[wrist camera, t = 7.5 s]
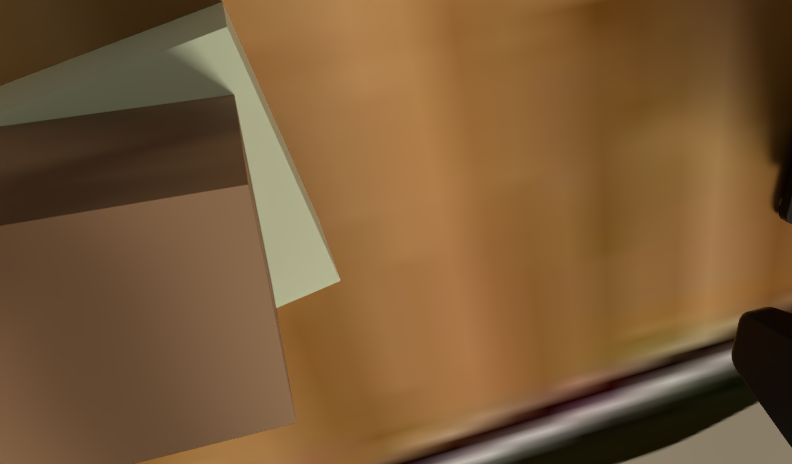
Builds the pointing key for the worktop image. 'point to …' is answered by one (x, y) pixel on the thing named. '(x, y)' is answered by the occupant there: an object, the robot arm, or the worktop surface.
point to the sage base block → (183, 81)
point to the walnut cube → (133, 288)
